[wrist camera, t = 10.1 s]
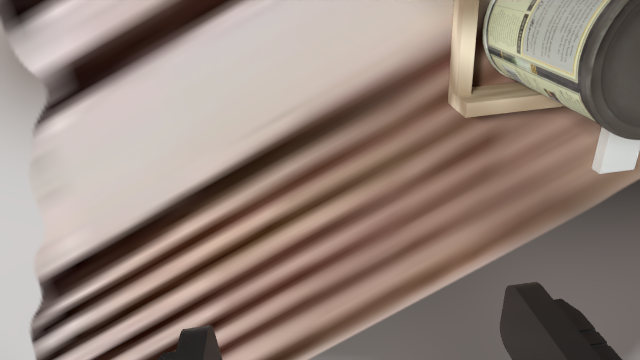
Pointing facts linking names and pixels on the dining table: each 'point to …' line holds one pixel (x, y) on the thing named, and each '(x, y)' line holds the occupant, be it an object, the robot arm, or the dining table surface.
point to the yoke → (461, 74)
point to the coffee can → (572, 55)
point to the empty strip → (615, 153)
